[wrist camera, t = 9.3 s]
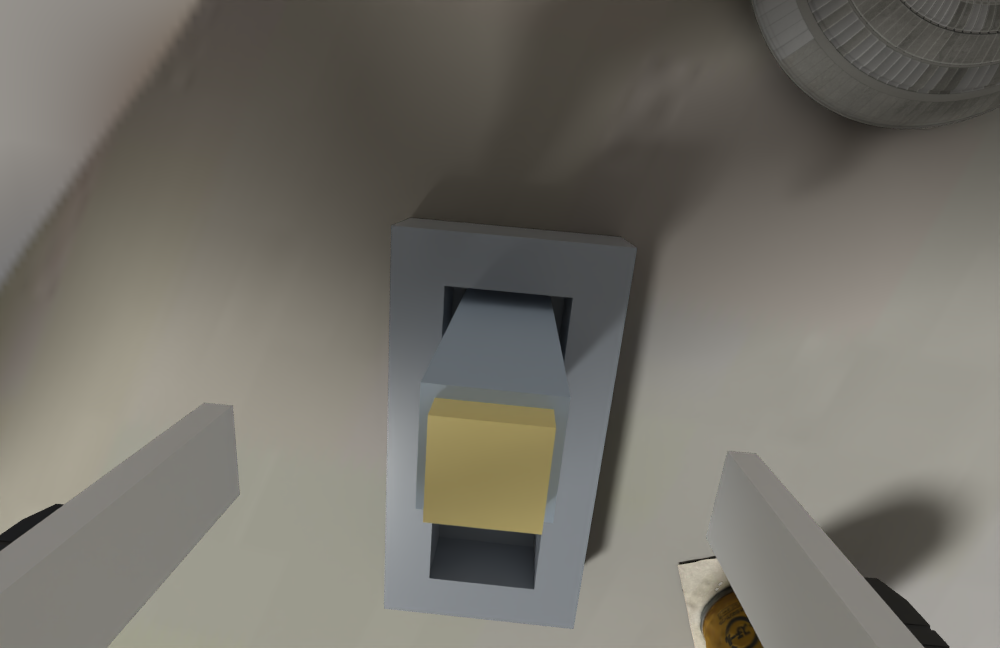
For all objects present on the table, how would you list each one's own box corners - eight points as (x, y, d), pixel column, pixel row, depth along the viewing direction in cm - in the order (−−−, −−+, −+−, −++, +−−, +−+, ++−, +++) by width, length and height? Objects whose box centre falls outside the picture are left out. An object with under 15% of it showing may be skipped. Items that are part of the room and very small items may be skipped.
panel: (400, 558, 29) (384, 608, 26) (410, 217, 23) (391, 225, 20) (567, 576, 29) (573, 628, 26) (621, 237, 23) (637, 247, 20)
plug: (462, 364, 25) (407, 533, 13) (467, 287, 24) (412, 399, 12) (541, 372, 25) (555, 548, 13) (549, 295, 24) (574, 415, 12)
